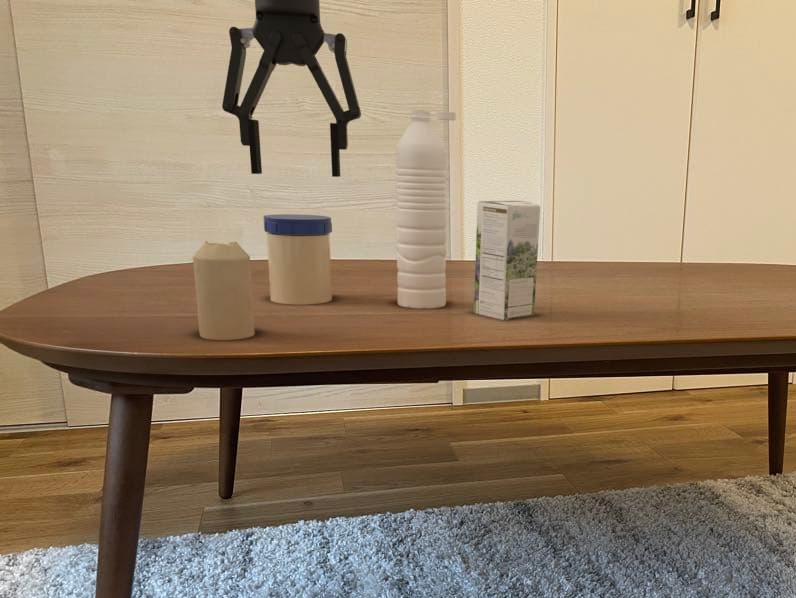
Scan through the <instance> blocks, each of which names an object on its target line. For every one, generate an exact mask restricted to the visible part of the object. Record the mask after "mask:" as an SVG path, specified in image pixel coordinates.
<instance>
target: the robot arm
mask: <svg viewBox="0 0 796 598" xmlns="http://www.w3.org/2000/svg"><path fill="white" fill-rule="evenodd" d="M254 7H255V8H254V9H255V10H254V11H255V20H254V24H253V26H252V27H249V28H238V27H236V26H231V27H230V28H229V30H228V34H229V39H230V45H231V50H230V55H229V56H230V57H229V62H228V69H227V73H226V80H225V86H224V87H225V88H224V93H223V98H222V105H221V108H222V110H223V111H224V112H225V113H228V114H231V115H233V116H235V117H236V118H237V119H238V123H239V125H238V126H239V137H240V143H241V145H242V146H244V147H249V157H250V160H249V161H250V171H251V172H250V173H251V175H261V174H263V169H262V168H263V167H262V154H261V151H262V150H261V139H260V138H261V137H260V123H259V120H258V119H253V118H254V117H253V115H254V114H255V111H256V108H257V106H258V103H259V102H260V100H261V98H262V95H263V93H264V91H265V88H266V86H267V84H268V82H269V79H270V77H271V76H272V73H273V72H274V70H275V68H276V67H277V65H279V66H289V65H295V66H298V67H307V68H308V70H309V72H310V74H311V75H312V77H313V79H314V82H315V83H316V85H317V87H318V88H319V90H320V92H321V94H322V96H323V98H324V100H325V102H326V103H327V105H328V107H329V109H330V111H331V114H333V117H334V119H335V122H330V123H329V133H330V134H329V136H330V158H331V177H333V178H335V177H336V178H339V177H341V155H340V150H343V151H344V150H345V151H347V149H348V146H349V142H348V140H349V139H348V125H349V123H350V122H353V121H356V120H358V119H361V117H362V111H361V107H360V104H359V100H358V95H357V92H356V89H355V85H354V81H353V78H352V74H351V70H350V66H349V61H348V59H347V51H348V50H347V49H348V39H347V38H346V36H345V34H343V33H341V32H339V33H330V32H325V31H324V29H323V27H322V24H321V9H320V8H321V7H320V0H254ZM254 39H255V40H256V41H257V43H258V44H259V45H260V47H261V49H262V50H263V52H262V54H261V57H260V59H259V60H258V61H259V62H258V65H257V68H256V70H255V72H254V75H253V77H252V79H251V81H250V84H249V86H248V88H247V91H246V92H245V95H244V97H243V99H242V102H241V104H240V105H239V99H240V93H241V87H242V82H243V75H244V70H245V64H246V60H247V59H246V57H247V49H248V48H250V47H251V43H252V40H254ZM324 43H326V44H327V46H328V50H329V51H330V52H331V53H333V54H334V59H335V63H336V67H337V70H338V74H339V79H340V81H341V86H342V90H343V92H344V96H345V101H346V105H347V108H348V109H347V110H344V109H343V107H342V105H341V103H340V102H339V101H340V100H339V99H338V98H337V96H336V94H335V91H334V90H333V88H332V86H331V83H329V80H328V78H327V77H326V75H325V72H324V71H323V68H322V66H321V65H320V63H319V61H318V59H317V57H316V56H317V53H318V52H319V50H320V49H321V48H322V46H323V45H324Z"/></svg>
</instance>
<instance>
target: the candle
mask: <svg viewBox="0 0 796 598" xmlns="http://www.w3.org/2000/svg"><path fill="white" fill-rule="evenodd" d="M192 265H193V273H194V287H195V296H196V308H197V309H196V310H197V321H198V331H199V336H200V337H201V338H203V339H206V340H214V341H230V340H231V341H232V340H234V341H235V340H241V339H243V340H244V339H248V338H251V337H253V336H255V332H256V330H255V329H256V328H255V314H254V311H255V310H254V297H253V283H252V270H251V269H252V268H251V256H250V255H249V253H248V252H247V251H246V250H245V249H244V248H243V247H242V246H241V245H240V244H239V243H238V241H231V242H229V243H227V244H225V243H219V242H208V241H207V240H206V241H204V242H203V244H202V245H201V246H200V247H199V248H198V249H197V250H196V251H195V253H194V254H193V255H192Z"/></svg>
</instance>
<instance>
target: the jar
mask: <svg viewBox="0 0 796 598" xmlns="http://www.w3.org/2000/svg"><path fill="white" fill-rule="evenodd" d="M265 233H266V247H267V248H266V249H267V265H268V281H269V282H268V283H269V298H270V301H271V302H273V303H277V304H284V305H316V304H317V305H318V304H324V303H328V302H331V301H333V288H332V287H333V286H332V285H333V283H332V282H333V281H332V261H331V260H332V258H331V255H332V254H331V233H328V234H315V235H293V234H276V233H269V232H265Z"/></svg>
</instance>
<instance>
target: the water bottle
mask: <svg viewBox="0 0 796 598" xmlns="http://www.w3.org/2000/svg"><path fill="white" fill-rule="evenodd" d="M411 115H412V116H410V117H409V118H410V119H411V121H410V124H409V125H408V127H407V128H406V129H405V131H404V133H403V134H402V136H401V137H400V139H399V141H398V142H397V145H396V148H395V165H396V166H395V167H396V171H395V172H396V173H395V174H396V179H395V180H396V183H395V184H396V190H395V191H396V226H397V228H396V241H397V244H396V251H397V255H396V256H397V257H396V267H397V270H398V271H397V273H396V274H397V275H396V278H397V281H396V282H397V285H398V287H397V288H396V290H397V292H396V293H397V295H396V297H397V298H396V299H397V300H396V301H397V305H398V306H400V307H403V308H410V309H424V310H425V309H428V310H429V309H438V308H443V307H445V306H446V304H447V289H446V285H447V275H446V269H447V260H446V257H447V245H446V242H447V229H446V227H447V210H446V209H447V203H446V202H447V197H446V196H447V191H446V190H447V184H446V183H447V163H448V160H447V159H448V158H447V157H448V155H447V148H446V146H445V144H444V142H443V140H442V139H441V137H440V135H439V134H438V132H437V130H436V129H435V128H434V125H433V124H432V119H433V118H432V117H431V111H430V110H425V109H424V110H423V109H412V111H411ZM456 117H457V114H456V112H454V111H436V120H438V121H457V120H456V119H457V118H456Z"/></svg>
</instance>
